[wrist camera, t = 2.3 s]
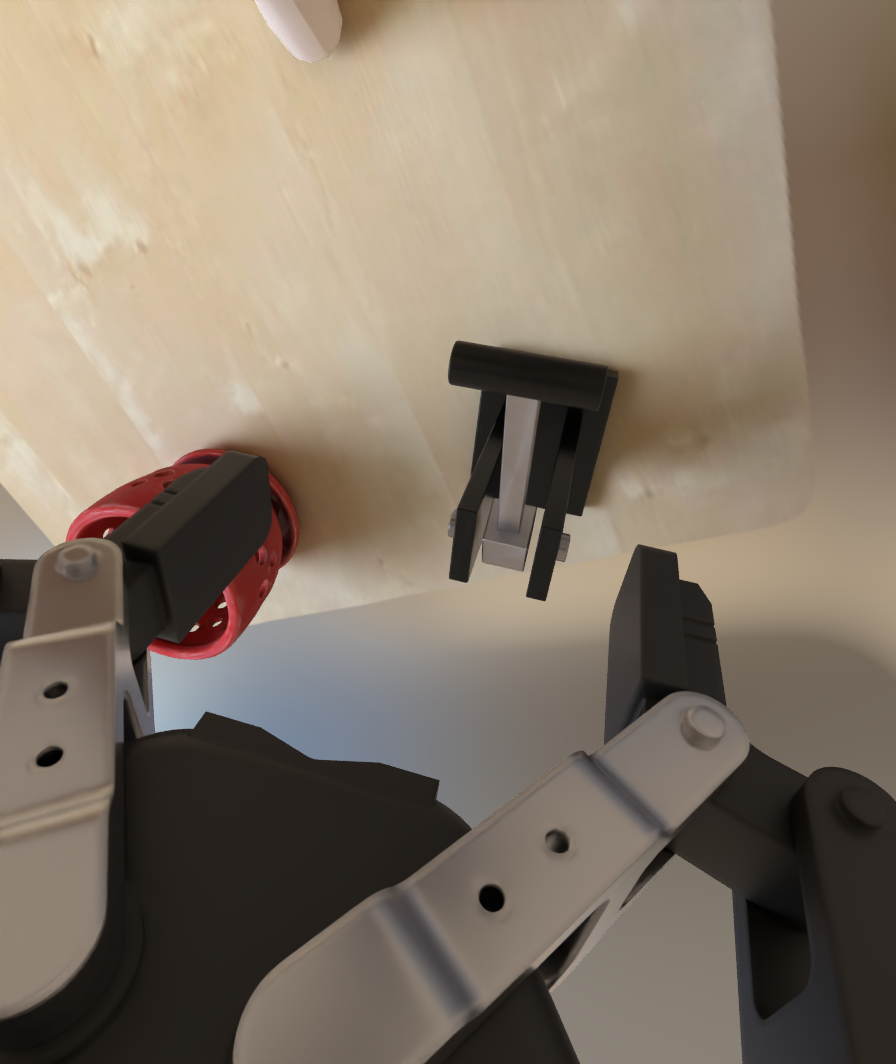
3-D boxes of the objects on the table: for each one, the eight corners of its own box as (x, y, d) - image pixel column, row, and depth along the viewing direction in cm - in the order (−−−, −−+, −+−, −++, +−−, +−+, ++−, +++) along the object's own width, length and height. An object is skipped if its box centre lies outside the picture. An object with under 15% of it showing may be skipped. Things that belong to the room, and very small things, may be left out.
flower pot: (345, 534, 49) (276, 636, 40) (241, 581, 56) (160, 679, 46) (239, 399, 45) (132, 479, 35) (138, 467, 51) (24, 551, 41)
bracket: (489, 348, 38) (429, 449, 27) (618, 371, 37) (611, 485, 26) (471, 484, 44) (417, 612, 33) (582, 507, 43) (564, 647, 32)
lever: (461, 320, 20) (442, 375, 19) (612, 345, 19) (601, 404, 18) (466, 517, 33) (455, 556, 32) (558, 537, 32) (550, 578, 31)
